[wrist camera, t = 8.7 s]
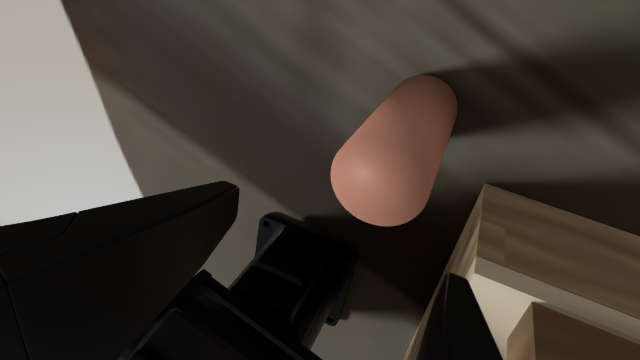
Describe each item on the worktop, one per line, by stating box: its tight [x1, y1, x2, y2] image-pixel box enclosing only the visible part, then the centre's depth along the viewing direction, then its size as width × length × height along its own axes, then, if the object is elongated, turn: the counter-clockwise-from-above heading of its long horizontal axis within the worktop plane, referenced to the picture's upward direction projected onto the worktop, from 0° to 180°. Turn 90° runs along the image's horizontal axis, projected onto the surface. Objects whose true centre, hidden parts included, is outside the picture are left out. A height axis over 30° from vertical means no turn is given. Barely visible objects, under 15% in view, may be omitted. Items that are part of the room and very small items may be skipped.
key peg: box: [331, 75, 458, 226], centre depth 16 cm, size 3×3×8 cm
